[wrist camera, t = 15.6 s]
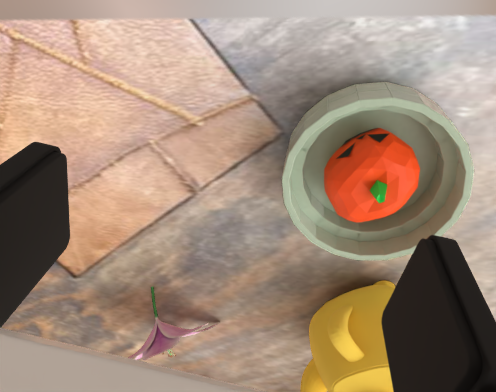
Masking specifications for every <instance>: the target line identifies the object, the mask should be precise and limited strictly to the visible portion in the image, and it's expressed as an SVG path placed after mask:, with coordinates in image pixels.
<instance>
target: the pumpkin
mask: <svg viewBox="0 0 496 392" xmlns="http://www.w3.org/2000/svg"><path fill="white" fill-rule="evenodd" d="M360 134H361V135H360ZM419 173H420V167H419V164H418V160H417V158H416V156H415V153H414V151H413V149H412V147H410V146H409V145H408V144H406V143H405V142H404V141H402V140H401V139H400V138H398V137H397V136H395V135H394V134H392V133H391V132H389V131H387V130H384V129H382V128H374V129H371V130H368V131H365V132H362V133H359V134H357V135H356V136H354V137H352V138H350V139H348V140H346V141H345V142H344V144H343V145H342V146H341V147H340V148H339V149H338V150H337V151H336V152H335V153H334V154H333V155H332V157H331V158H330V159H329V161H328V163H327V165H326V167H325V169H324V187H325V192H326V194H327V196H328V198H329V200H330V202H331V204H332V206H333V207H334V209H335V211H336V213H337V214H338V215H339V216H341V217H343V218H345V219H347V220H349V221H352V222H356V223H357V222H365V221H370V220H374V219H379V218H383V217H386V216H389V215H391V214H393V213H395V212H396V211H398V210H399V209H400V208H401V207H403V206H404V205H405V203H406V202H407V201H408V200H409V198H410V197H411V196H412V194H413V193H414V192H415V190H416V189H417V188H418V181H419Z"/></svg>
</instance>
